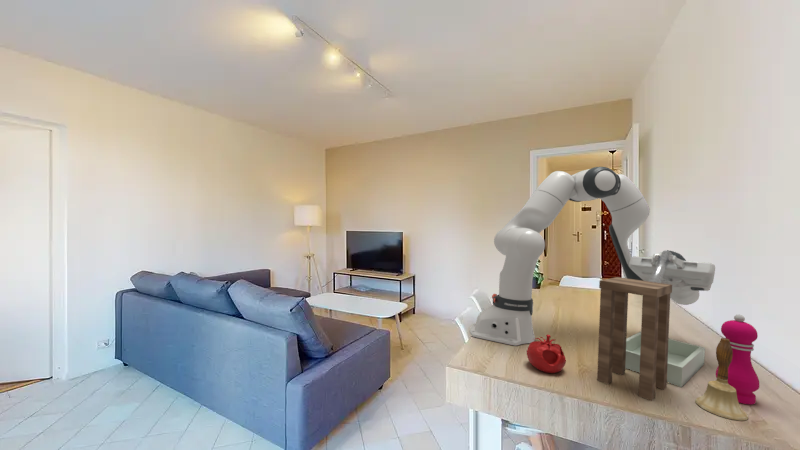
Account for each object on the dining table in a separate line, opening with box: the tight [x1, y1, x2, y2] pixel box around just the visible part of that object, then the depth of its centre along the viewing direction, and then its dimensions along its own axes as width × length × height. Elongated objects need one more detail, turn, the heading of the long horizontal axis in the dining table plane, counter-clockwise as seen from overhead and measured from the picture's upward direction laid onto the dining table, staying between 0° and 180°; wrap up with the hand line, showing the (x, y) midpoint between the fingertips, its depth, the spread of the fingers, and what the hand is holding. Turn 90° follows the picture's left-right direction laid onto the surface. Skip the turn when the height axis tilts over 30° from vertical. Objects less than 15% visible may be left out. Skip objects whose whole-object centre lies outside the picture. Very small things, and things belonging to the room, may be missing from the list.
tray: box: [625, 331, 706, 388], centre depth 94 cm, size 25×16×5 cm, turn 126°
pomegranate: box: [526, 334, 567, 374], centre depth 88 cm, size 10×10×9 cm
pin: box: [649, 250, 672, 295], centre depth 92 cm, size 17×8×2 cm
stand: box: [596, 276, 672, 402], centre depth 81 cm, size 12×12×26 cm
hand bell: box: [694, 337, 749, 422], centre depth 70 cm, size 8×8×16 cm
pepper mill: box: [715, 314, 761, 406], centre depth 76 cm, size 7×7×20 cm
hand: (663, 256), depth 94 cm, fingers closed on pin, 2 cm apart
